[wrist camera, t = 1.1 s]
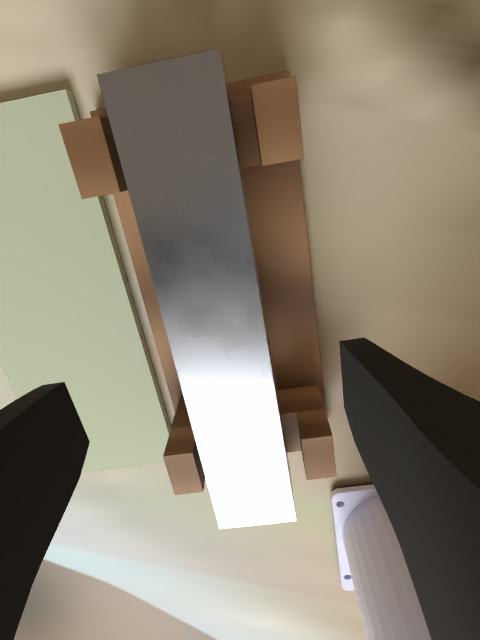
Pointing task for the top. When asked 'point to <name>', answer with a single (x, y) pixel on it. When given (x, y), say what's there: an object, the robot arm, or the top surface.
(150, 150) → the rail
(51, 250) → the mat
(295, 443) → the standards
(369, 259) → the top surface
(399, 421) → the robot arm
